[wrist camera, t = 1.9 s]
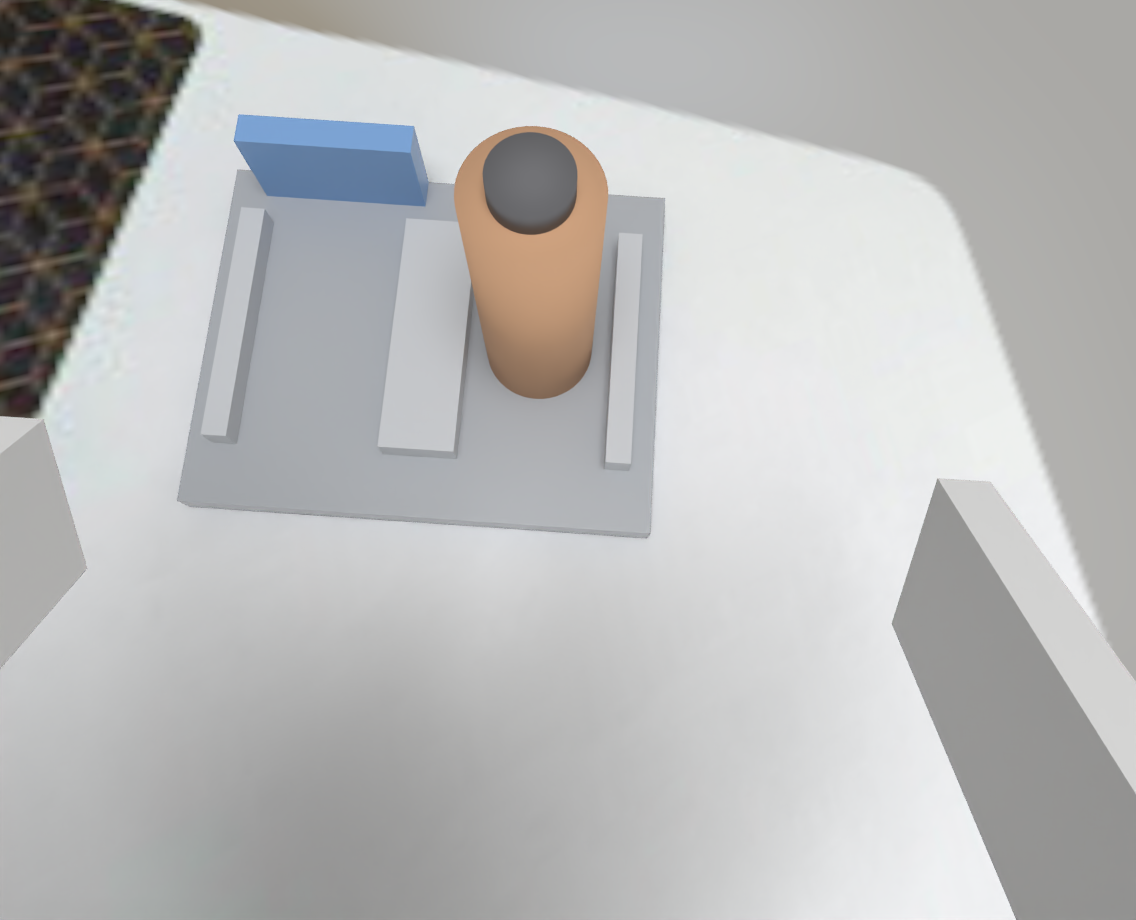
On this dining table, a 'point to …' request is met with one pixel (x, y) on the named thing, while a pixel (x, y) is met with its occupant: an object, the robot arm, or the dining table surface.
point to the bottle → (534, 254)
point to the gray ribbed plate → (406, 354)
